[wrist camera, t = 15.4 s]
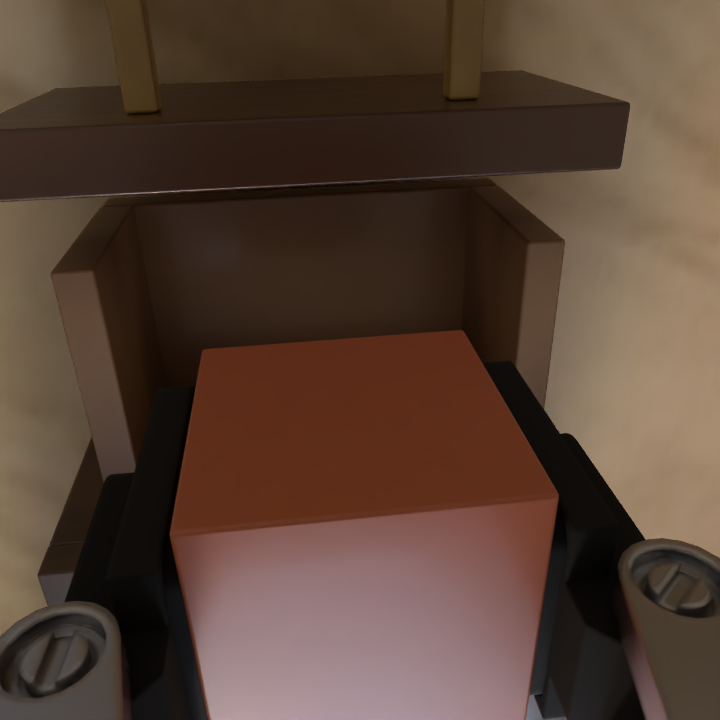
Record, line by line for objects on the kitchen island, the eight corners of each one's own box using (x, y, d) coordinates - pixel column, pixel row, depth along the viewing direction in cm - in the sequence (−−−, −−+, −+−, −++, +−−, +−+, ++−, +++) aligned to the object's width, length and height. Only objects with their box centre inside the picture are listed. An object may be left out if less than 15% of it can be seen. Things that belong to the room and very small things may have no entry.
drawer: (-22, -251, 13) (-202, -405, 8) (550, -247, 14) (708, -379, 9) (150, 523, 23) (116, 678, 18) (488, 489, 24) (549, 626, 19)
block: (231, 547, 12) (217, 773, 9) (202, 347, 10) (167, 534, 7) (452, 525, 12) (525, 732, 9) (463, 328, 11) (561, 494, 7)
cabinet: (109, 389, 21) (35, 575, 14) (507, 357, 23) (612, 514, 16) (179, 694, 28) (152, 916, 22) (479, 657, 30) (544, 856, 23)
